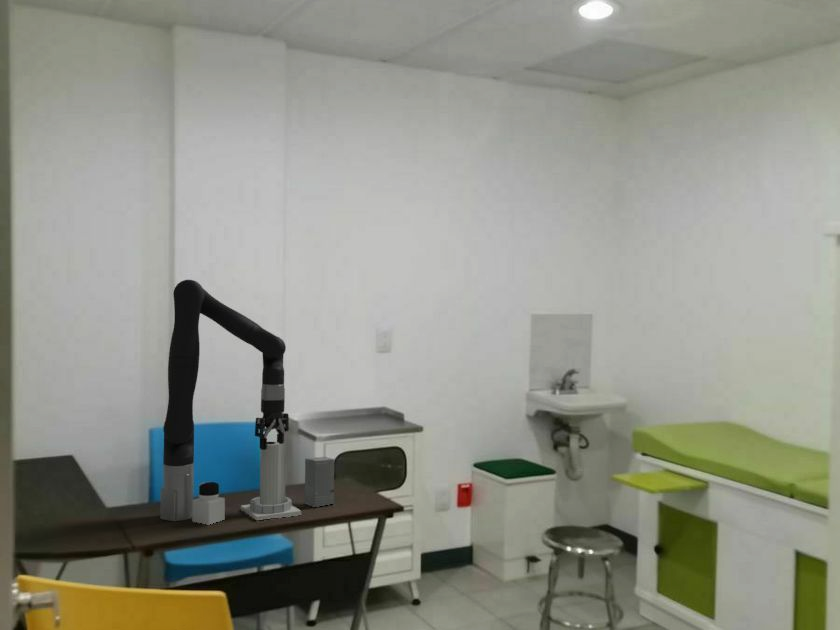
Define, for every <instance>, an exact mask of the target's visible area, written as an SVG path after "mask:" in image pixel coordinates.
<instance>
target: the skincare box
mask: <svg viewBox="0 0 840 630" xmlns="http://www.w3.org/2000/svg"><path fill="white" fill-rule="evenodd" d="M304 464H305V465H304V466H305V467H304V505H306V504H307V505H306V506H309V507H311V506H312V508H314V507H317V508H320V507H319V506H323V507H326V506H325V505H328V506H331V505H330V504H333V505H334V504H335V503H334V502H335V458H331V457H327V456H320V457H318V456H317V457H307V458H305V459H304Z"/></svg>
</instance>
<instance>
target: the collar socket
mask: <svg viewBox="0 0 840 630" xmlns="http://www.w3.org/2000/svg"><path fill="white" fill-rule="evenodd" d="M292 503H293V502H292V498H290V497H288V496H285V503H283V504H277V505H261V504H260V496H256V497H253V498H251V499H250V500H249V504H243V505H242V504H241V505H240V510H241V509H242V510H243V511H245V512H246V513H247V514H249V515H250V516H252V517H253V518H254V519H255V520H263V519H271V518H279V519H283V518H282V517H286V518H292V517H291V516H294V517H299V516H298V515H301V516H302V510H300V509H299V508H297V506H295V505H293V504H292ZM242 510H241V511H242ZM243 511H242V512H243ZM246 513H245V514H246ZM247 514H246V515H247ZM250 516H249V517H250ZM253 518H252V519H253ZM254 519H253V520H254ZM255 520H254V521H255ZM271 520H272V519H271Z"/></svg>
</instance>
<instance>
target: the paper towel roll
mask: <svg viewBox="0 0 840 630" xmlns="http://www.w3.org/2000/svg"><path fill="white" fill-rule="evenodd" d="M259 455H260V457H259V458H260V460H259V461H260V465H259V466H260V467H259V471H260V473H259V497H260V504H261V505H277V504H283V503H285V497H286V478H287V477H286V472H287V471H286V470H287V467H286V466H287V465H286V464H287V463H286V462H287V460H286V459H287V443H286V442H284V443H283V444H279V443H278V442H277V441H267V449H266V450H262V449H260V454H259Z"/></svg>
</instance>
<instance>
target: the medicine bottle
mask: <svg viewBox="0 0 840 630" xmlns="http://www.w3.org/2000/svg"><path fill="white" fill-rule="evenodd" d="M225 502H226V498H225V497H221V496H220V485H219V483H218V482H215V481H205V482H201V483H199V485H198V497H197V498H193V514H192V518H191V520H192V523H196V522H197V524H200V523H202V524H201V525H205V524H206V525H205V526H211V525H213V523H214V524H217V523H216V522H218V523H220V521H221V522H223V521H222V520H224V521H225V518H226V517H225V516H226V511H225V510H226V503H225ZM210 524H211V525H210Z"/></svg>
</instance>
